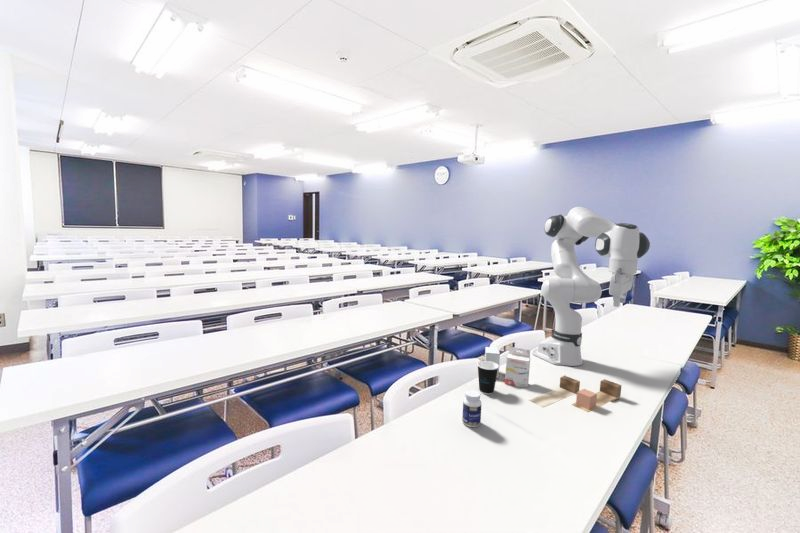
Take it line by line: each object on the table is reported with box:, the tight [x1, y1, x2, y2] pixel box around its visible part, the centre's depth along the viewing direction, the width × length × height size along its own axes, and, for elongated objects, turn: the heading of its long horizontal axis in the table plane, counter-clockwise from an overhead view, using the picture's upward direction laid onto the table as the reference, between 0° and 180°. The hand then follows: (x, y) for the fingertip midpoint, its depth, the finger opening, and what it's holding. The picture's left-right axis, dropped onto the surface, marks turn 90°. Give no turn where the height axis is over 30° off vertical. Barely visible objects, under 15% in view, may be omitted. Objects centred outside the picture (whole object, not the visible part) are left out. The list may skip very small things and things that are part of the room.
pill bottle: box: [461, 389, 482, 428], centre depth 115 cm, size 6×6×10 cm
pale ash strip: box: [528, 375, 581, 408], centre depth 131 cm, size 6×22×5 cm, turn 124°
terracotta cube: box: [575, 388, 597, 410], centre depth 125 cm, size 4×4×4 cm
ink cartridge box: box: [504, 346, 531, 389], centre depth 142 cm, size 9×5×15 cm, turn 65°
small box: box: [484, 346, 501, 379], centre depth 153 cm, size 8×6×10 cm
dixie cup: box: [476, 360, 500, 395], centre depth 136 cm, size 8×8×11 cm
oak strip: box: [571, 378, 622, 413], centre depth 129 cm, size 6×22×5 cm, turn 124°
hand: (619, 304), depth 135 cm, fingers open, 8 cm apart
